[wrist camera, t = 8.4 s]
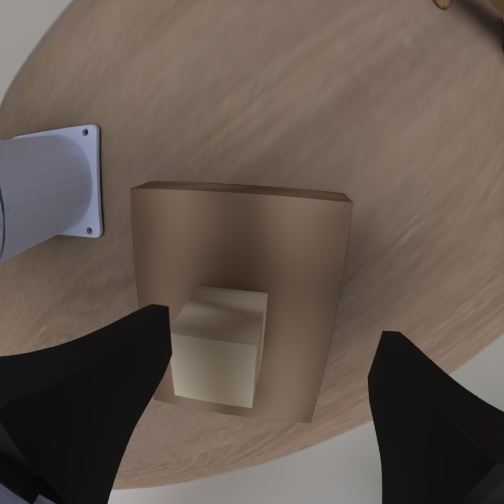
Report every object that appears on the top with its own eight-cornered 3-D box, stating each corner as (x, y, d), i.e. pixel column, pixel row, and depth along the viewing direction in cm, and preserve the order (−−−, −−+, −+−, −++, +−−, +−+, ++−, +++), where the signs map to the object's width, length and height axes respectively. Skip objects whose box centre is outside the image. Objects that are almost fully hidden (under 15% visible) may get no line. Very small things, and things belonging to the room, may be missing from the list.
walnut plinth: (167, 376, 25) (154, 399, 22) (152, 181, 20) (130, 188, 17) (310, 396, 24) (310, 423, 21) (344, 193, 18) (352, 202, 16)
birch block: (200, 341, 20) (174, 395, 15) (198, 285, 18) (167, 332, 14) (263, 350, 19) (252, 408, 15) (267, 293, 18) (256, 345, 13)
